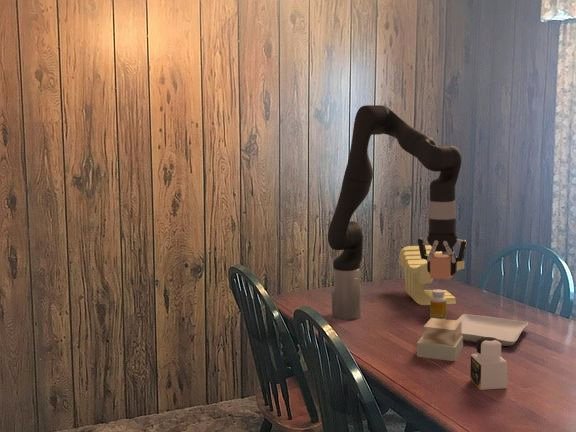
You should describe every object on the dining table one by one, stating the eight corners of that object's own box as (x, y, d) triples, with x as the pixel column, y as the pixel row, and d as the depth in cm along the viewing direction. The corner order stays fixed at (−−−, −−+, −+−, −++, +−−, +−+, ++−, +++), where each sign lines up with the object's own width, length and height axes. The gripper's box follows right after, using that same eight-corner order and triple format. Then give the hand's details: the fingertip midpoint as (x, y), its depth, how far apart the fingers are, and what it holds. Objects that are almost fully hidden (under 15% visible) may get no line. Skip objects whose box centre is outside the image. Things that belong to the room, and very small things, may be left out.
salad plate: (529, 331, 212) (529, 320, 211) (514, 352, 194) (515, 340, 193) (463, 322, 222) (463, 312, 222) (443, 341, 204) (443, 330, 204)
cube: (430, 278, 190) (430, 257, 189) (434, 274, 195) (434, 254, 194) (449, 279, 187) (449, 259, 186) (453, 275, 192) (453, 255, 191)
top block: (423, 341, 192) (423, 326, 191) (431, 332, 200) (431, 317, 199) (454, 345, 188) (455, 330, 187) (461, 335, 196) (461, 321, 195)
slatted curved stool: (399, 290, 264) (399, 246, 261) (438, 288, 265) (438, 244, 262) (419, 312, 234) (419, 262, 231) (464, 309, 235) (464, 260, 233)
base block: (416, 357, 192) (416, 342, 191) (425, 345, 201) (425, 331, 201) (455, 362, 187) (455, 347, 186) (462, 350, 197) (462, 335, 196)
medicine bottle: (469, 379, 174) (470, 335, 172) (496, 377, 174) (497, 334, 173) (480, 390, 167) (480, 344, 165) (507, 388, 167) (508, 343, 166)
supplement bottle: (446, 321, 223) (446, 293, 222) (430, 320, 224) (430, 292, 223) (446, 316, 228) (446, 288, 227) (430, 315, 229) (430, 288, 228)
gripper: (414, 217, 188) (414, 275, 191) (465, 219, 182) (465, 279, 185) (420, 213, 195) (420, 269, 197) (470, 215, 189) (469, 273, 191)
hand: (442, 274), depth 191 cm, fingers closed on cube, 5 cm apart
